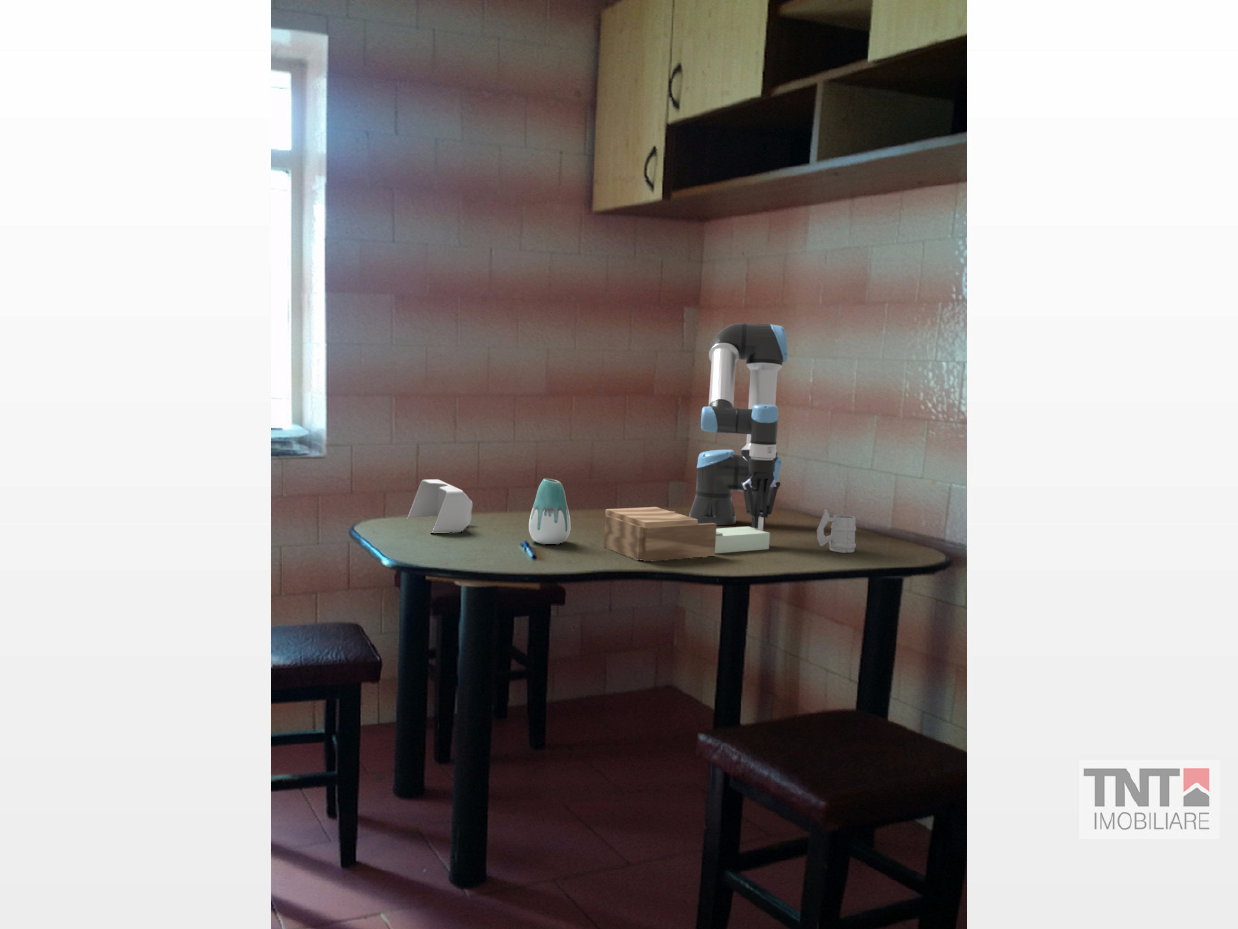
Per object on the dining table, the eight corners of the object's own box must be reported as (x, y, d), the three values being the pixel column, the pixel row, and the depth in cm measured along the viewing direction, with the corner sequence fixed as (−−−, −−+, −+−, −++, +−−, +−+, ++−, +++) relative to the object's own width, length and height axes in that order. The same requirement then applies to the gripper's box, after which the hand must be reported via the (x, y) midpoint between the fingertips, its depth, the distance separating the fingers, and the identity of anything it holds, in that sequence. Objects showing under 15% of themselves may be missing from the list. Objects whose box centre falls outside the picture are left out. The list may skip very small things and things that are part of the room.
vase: (576, 542, 298) (579, 479, 296) (557, 548, 287) (560, 483, 285) (540, 537, 303) (543, 475, 301) (520, 543, 292) (522, 479, 290)
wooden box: (601, 546, 293) (603, 509, 291) (672, 542, 305) (674, 506, 303) (640, 562, 275) (642, 522, 274) (714, 556, 287) (716, 518, 285)
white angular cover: (484, 533, 306) (486, 490, 304) (431, 535, 298) (432, 491, 297) (457, 518, 328) (458, 478, 326) (406, 520, 320) (407, 479, 319)
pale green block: (691, 547, 299) (692, 528, 299) (747, 543, 310) (748, 524, 309) (712, 554, 291) (713, 534, 290) (768, 550, 301) (770, 530, 301)
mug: (860, 553, 301) (863, 511, 300) (821, 553, 299) (824, 511, 297) (848, 547, 309) (851, 507, 307) (810, 547, 306) (813, 506, 305)
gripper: (752, 460, 297) (747, 542, 300) (788, 459, 304) (783, 540, 307) (736, 457, 304) (731, 537, 307) (771, 456, 310) (766, 535, 313)
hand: (757, 538), depth 307 cm, fingers closed
